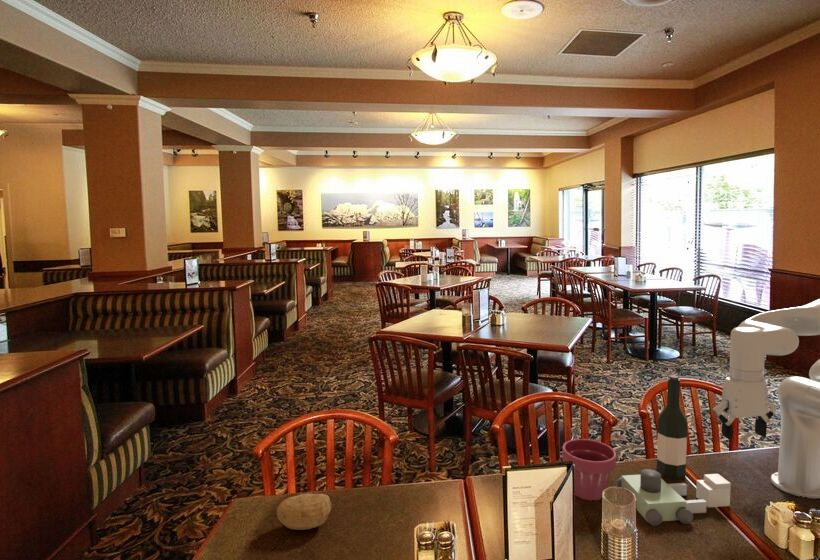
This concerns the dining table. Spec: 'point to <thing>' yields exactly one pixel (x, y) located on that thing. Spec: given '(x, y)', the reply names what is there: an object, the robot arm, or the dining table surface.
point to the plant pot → (590, 466)
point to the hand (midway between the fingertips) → (743, 436)
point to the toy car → (661, 498)
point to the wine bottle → (672, 435)
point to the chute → (714, 490)
